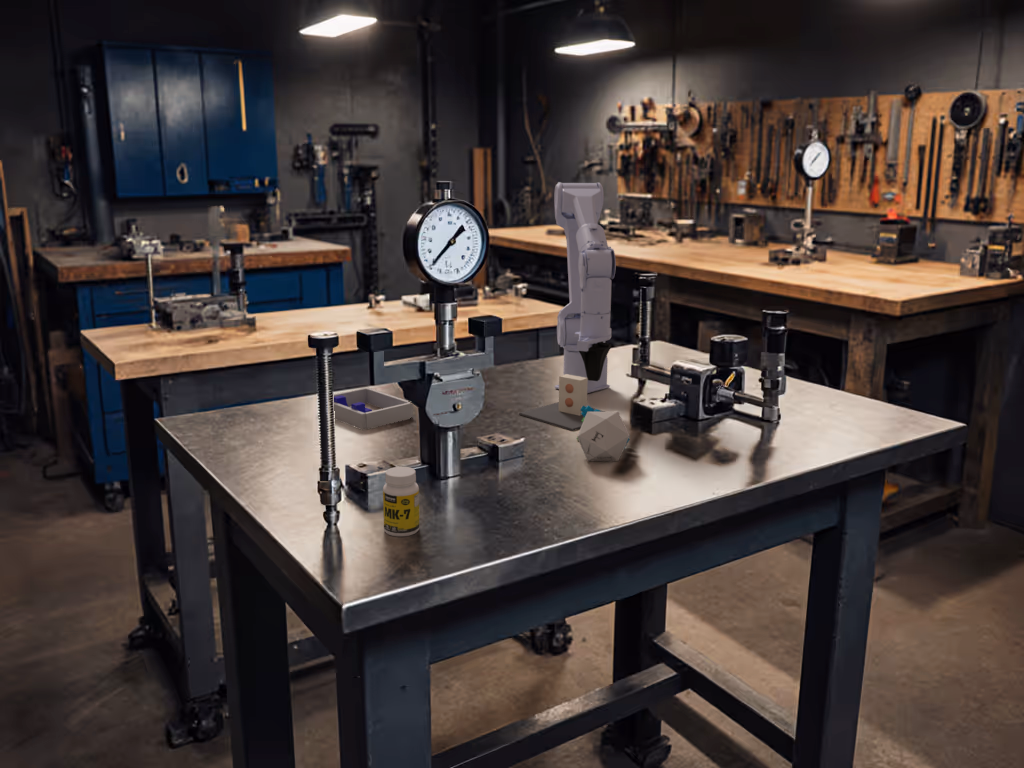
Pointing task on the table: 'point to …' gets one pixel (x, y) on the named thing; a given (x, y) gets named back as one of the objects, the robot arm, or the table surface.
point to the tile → (572, 393)
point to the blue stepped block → (356, 406)
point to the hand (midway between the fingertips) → (593, 380)
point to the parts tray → (390, 413)
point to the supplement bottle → (401, 502)
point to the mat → (555, 416)
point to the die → (603, 436)
